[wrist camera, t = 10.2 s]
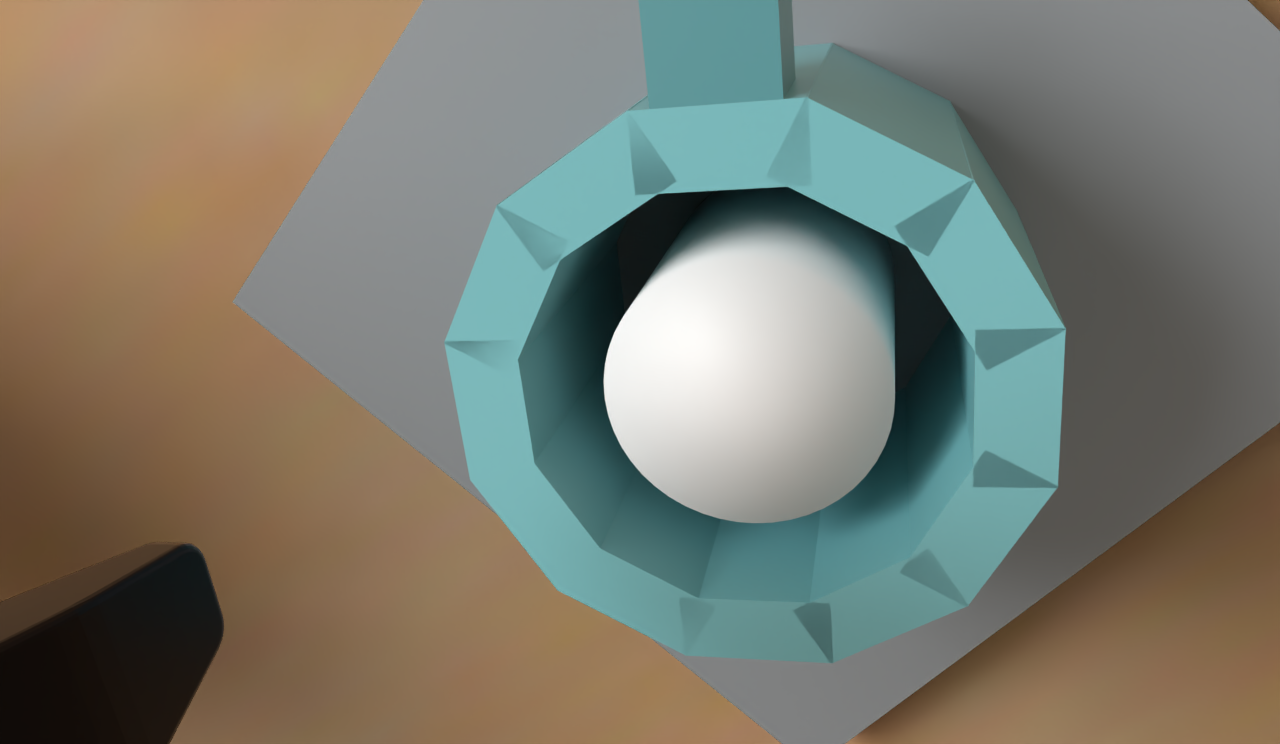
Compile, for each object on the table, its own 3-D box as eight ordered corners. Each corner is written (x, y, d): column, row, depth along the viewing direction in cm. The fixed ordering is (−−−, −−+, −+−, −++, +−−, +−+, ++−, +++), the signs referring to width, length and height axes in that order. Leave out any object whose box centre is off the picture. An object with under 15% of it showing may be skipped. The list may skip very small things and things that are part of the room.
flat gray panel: (817, 715, 22) (792, 978, 16) (276, 276, 20) (55, 406, 15) (1458, 221, 16) (1757, 383, 10) (746, -449, 14) (658, -668, 9)
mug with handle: (1008, 476, 17) (1049, 674, 13) (594, 472, 19) (501, 646, 14) (1024, -68, 14) (1085, -58, 10) (527, -15, 16) (382, 14, 11)
